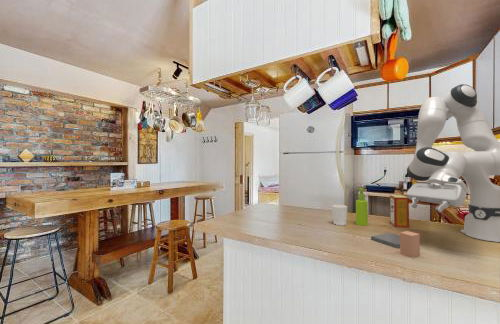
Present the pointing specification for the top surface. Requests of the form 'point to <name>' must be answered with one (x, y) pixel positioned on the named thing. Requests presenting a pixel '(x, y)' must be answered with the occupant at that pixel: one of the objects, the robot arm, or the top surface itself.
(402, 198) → the baking soda box
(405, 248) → the terracotta block
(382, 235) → the slate coaster
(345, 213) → the white cup
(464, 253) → the top surface
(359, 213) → the soap dispenser
